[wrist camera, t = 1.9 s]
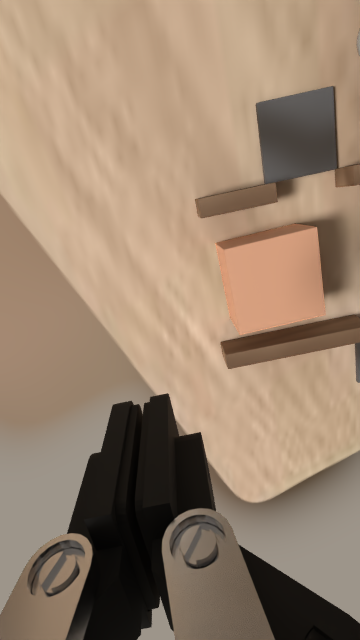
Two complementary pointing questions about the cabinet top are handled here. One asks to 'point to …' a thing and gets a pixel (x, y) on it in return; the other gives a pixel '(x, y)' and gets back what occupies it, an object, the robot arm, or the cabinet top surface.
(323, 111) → the trap lane
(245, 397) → the cabinet top surface
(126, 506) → the robot arm
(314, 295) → the salmon block
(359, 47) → the toy rhinoceros
